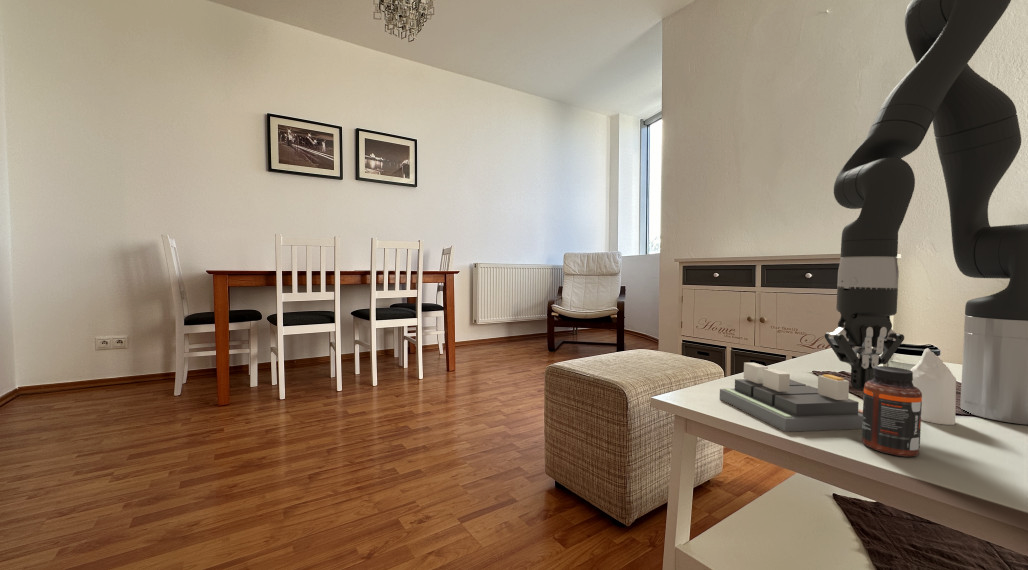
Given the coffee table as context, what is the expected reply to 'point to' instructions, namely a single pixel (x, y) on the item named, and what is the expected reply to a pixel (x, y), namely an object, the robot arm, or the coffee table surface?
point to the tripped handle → (833, 387)
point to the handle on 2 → (776, 380)
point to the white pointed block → (935, 389)
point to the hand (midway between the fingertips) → (861, 389)
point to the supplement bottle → (892, 412)
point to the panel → (795, 420)
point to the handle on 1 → (754, 372)
